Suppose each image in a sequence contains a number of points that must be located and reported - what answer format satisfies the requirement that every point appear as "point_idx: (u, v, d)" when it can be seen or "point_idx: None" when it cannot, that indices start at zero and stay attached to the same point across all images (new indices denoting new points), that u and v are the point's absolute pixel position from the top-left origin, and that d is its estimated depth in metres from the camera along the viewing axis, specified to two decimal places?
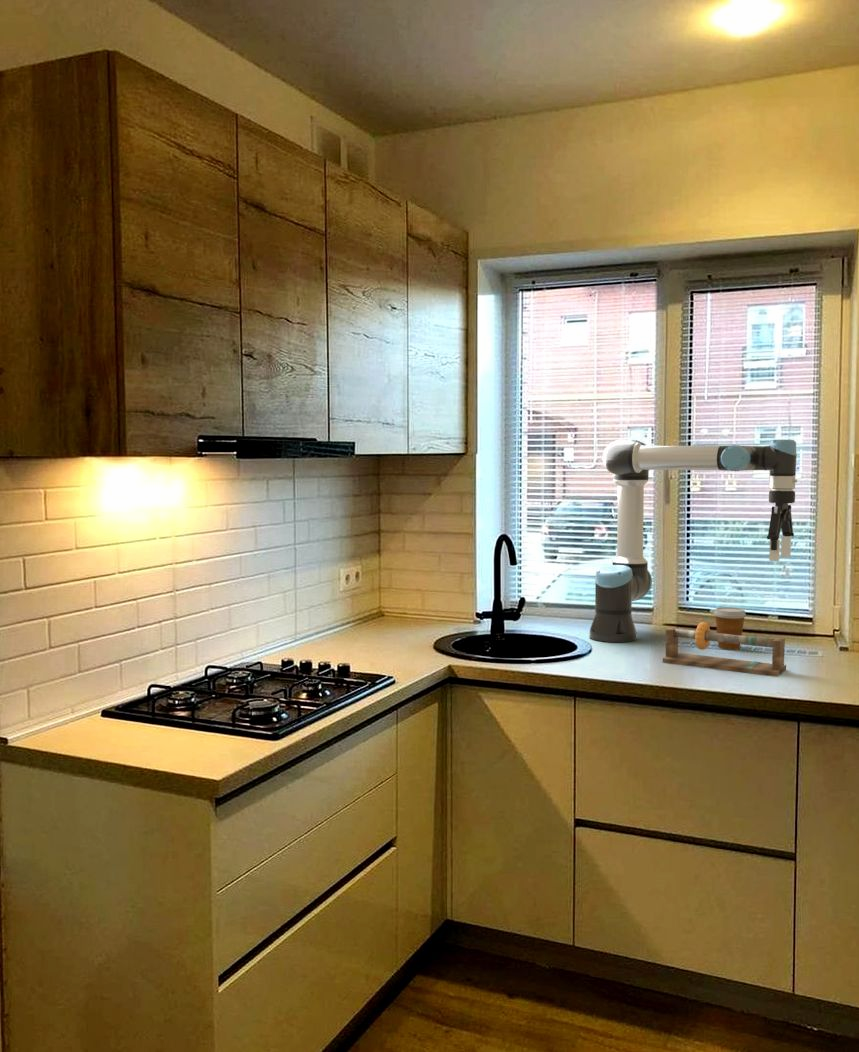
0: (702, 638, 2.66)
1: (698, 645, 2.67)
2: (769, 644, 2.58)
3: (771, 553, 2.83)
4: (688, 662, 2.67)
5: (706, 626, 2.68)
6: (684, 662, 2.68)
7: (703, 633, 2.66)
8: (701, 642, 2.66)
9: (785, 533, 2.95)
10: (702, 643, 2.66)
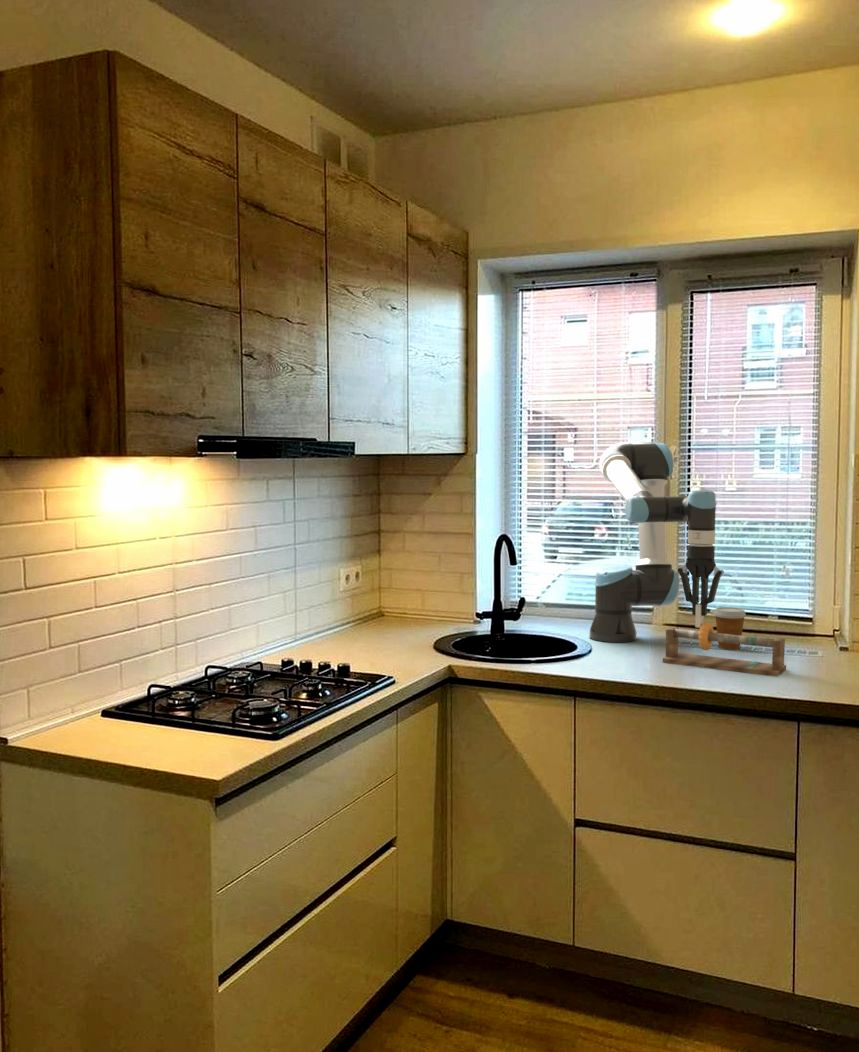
0: (706, 638, 2.65)
1: (701, 645, 2.67)
2: (769, 644, 2.58)
3: None
4: (688, 662, 2.67)
5: (709, 626, 2.67)
6: (684, 662, 2.68)
7: (707, 633, 2.66)
8: (704, 643, 2.66)
9: None
10: (706, 643, 2.66)
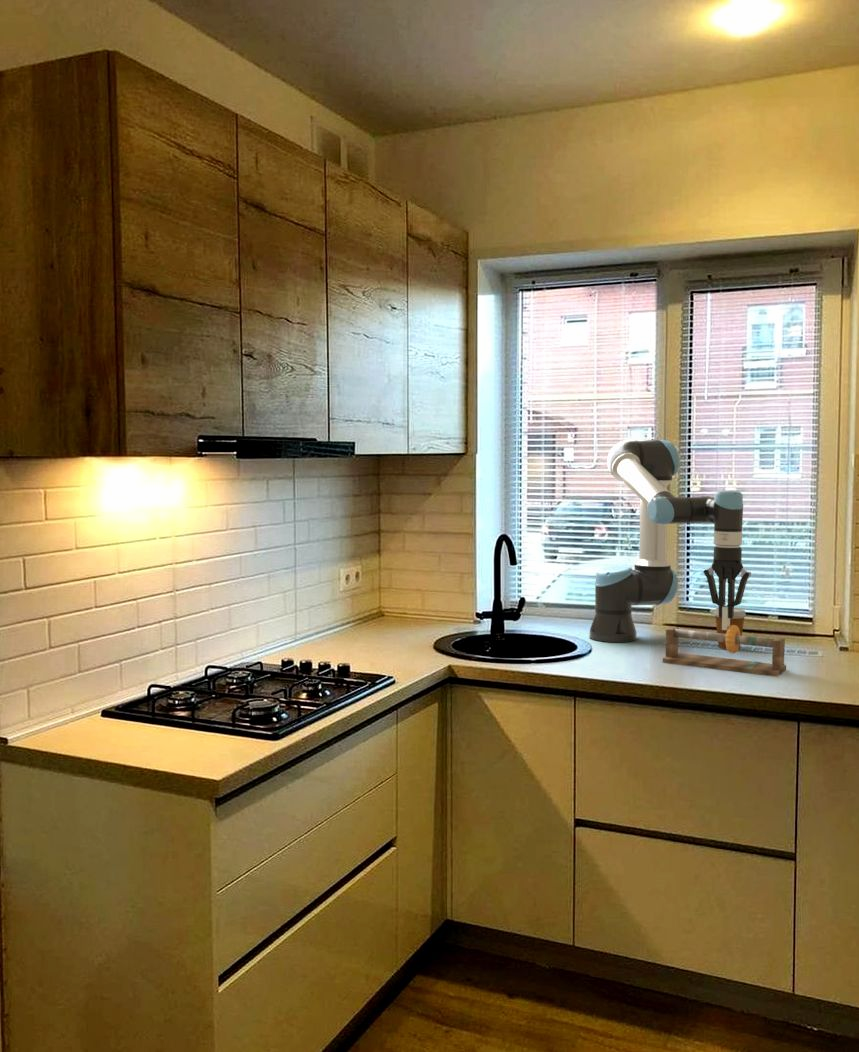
0: (733, 641, 2.61)
1: (728, 648, 2.62)
2: (769, 644, 2.58)
3: None
4: (688, 662, 2.67)
5: (736, 629, 2.63)
6: (684, 662, 2.68)
7: (734, 636, 2.62)
8: (731, 646, 2.62)
9: None
10: (733, 646, 2.62)
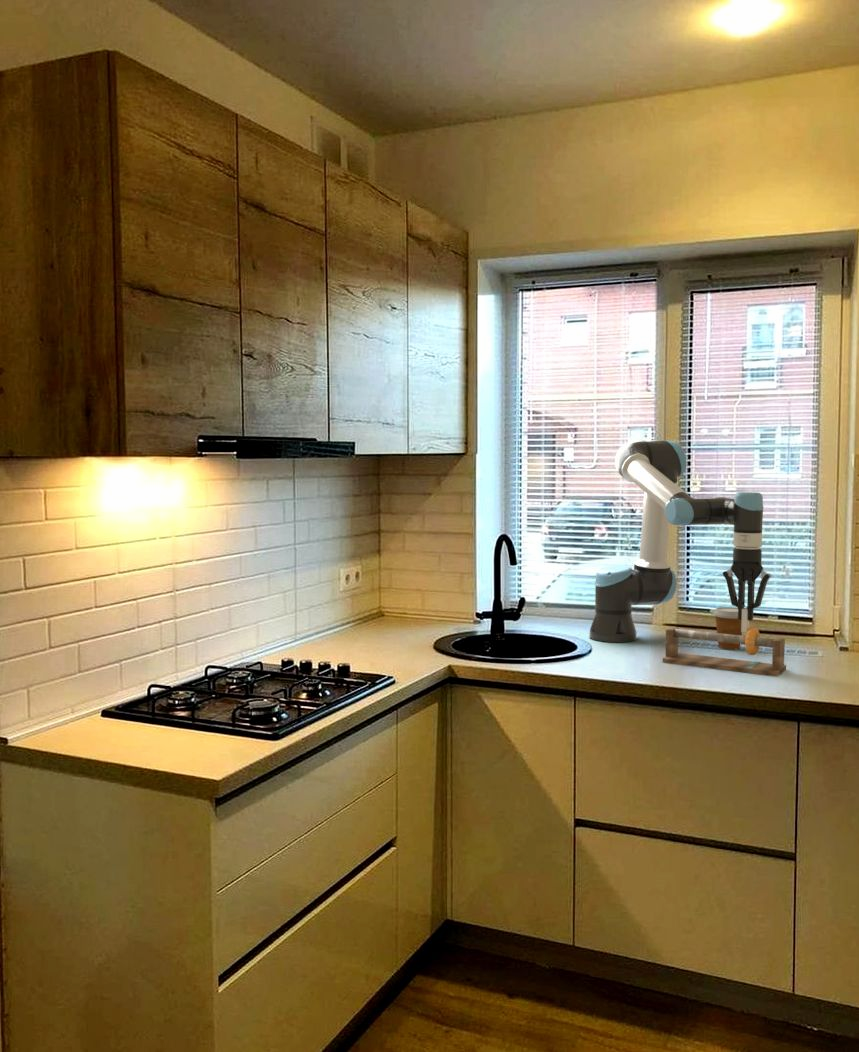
0: (752, 643, 2.58)
1: (748, 651, 2.59)
2: (769, 644, 2.58)
3: None
4: (688, 662, 2.67)
5: (756, 631, 2.60)
6: (684, 662, 2.68)
7: (753, 638, 2.59)
8: (751, 648, 2.59)
9: None
10: (752, 649, 2.59)
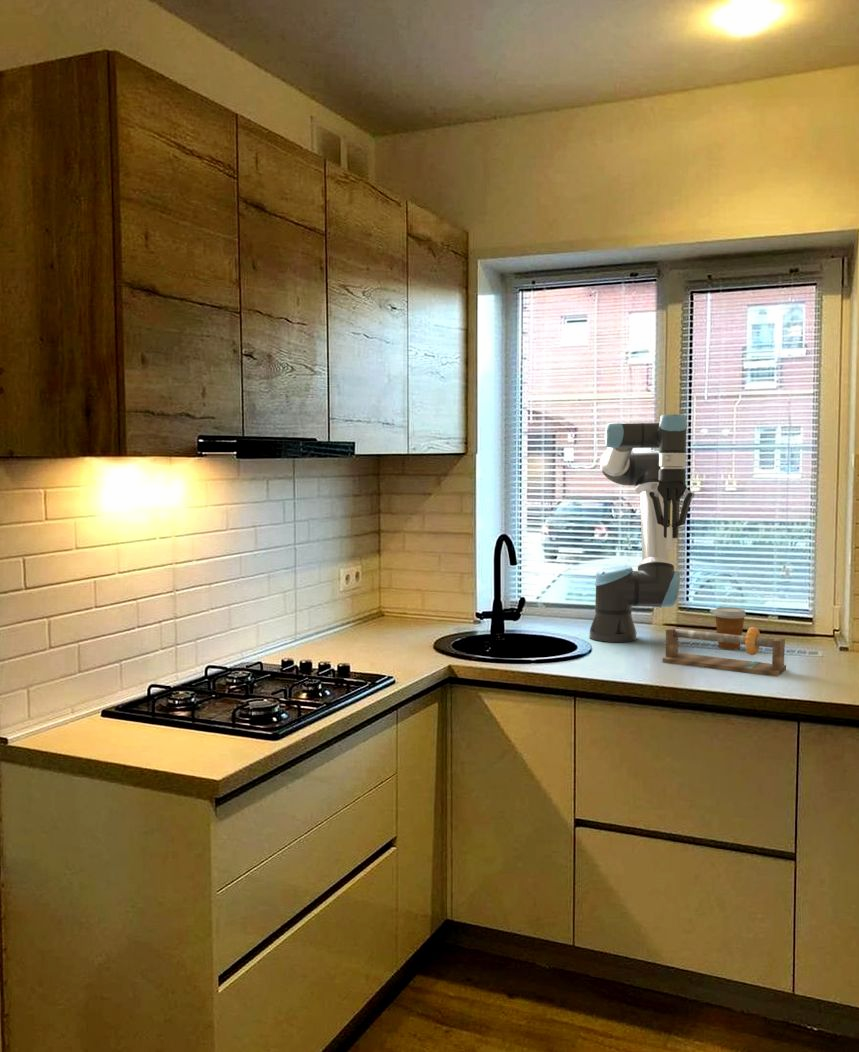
0: (753, 643, 2.58)
1: (748, 651, 2.59)
2: (769, 644, 2.58)
3: None
4: (688, 662, 2.67)
5: (756, 631, 2.60)
6: (684, 662, 2.68)
7: (754, 638, 2.59)
8: (751, 648, 2.59)
9: None
10: (752, 649, 2.59)
